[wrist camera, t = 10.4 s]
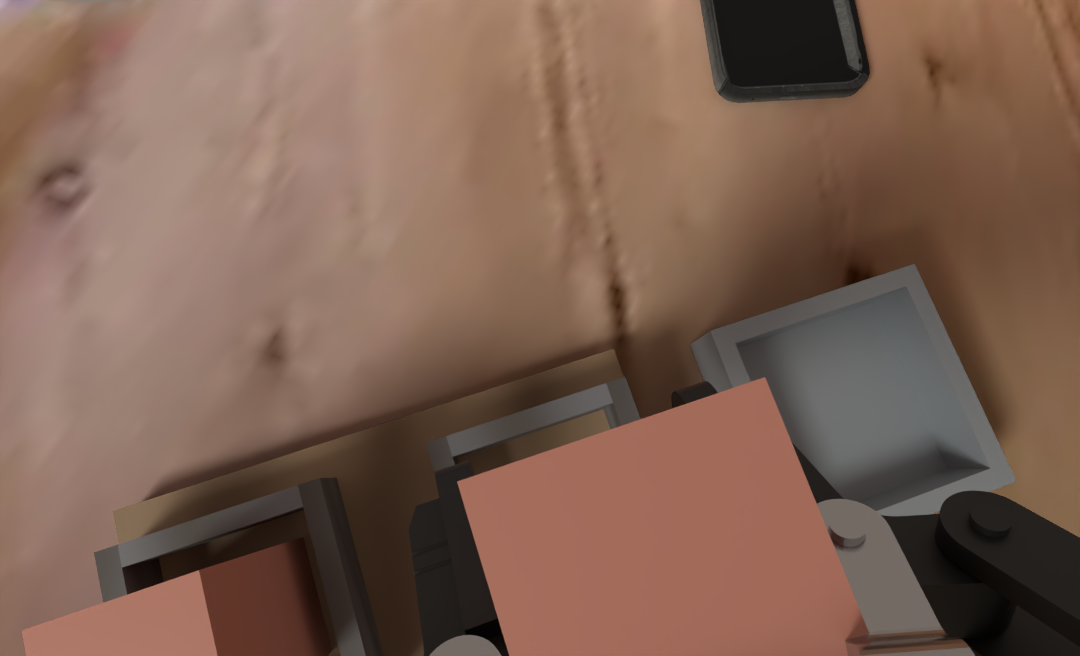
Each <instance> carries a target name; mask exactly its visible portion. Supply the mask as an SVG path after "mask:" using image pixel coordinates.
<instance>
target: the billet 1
mask: <svg viewBox="0 0 1080 656" xmlns="http://www.w3.org/2000/svg"><path fill="white" fill-rule="evenodd" d="M22 634H23V640H24V646H25V652H26V656H328V655H329V654H330V653H331V652H332V649H331V645H330V641H329V637H328V633H327V629H326V625H325V621H324V617H323V613H322V609H321V605H320V601H319V597H318V593H317V589H316V585H315V581H314V577H313V573H312V569H311V565H310V561H309V557H308V553H307V549H306V545H305V541H304V537H301V538H298V539H295V540H292V541H289V542H286V543H283V544H279V545H276V546H273V547H270V548H267V549H264V550H261V551H258V552H254V553H251V554H248V555H245V556H242V557H239V558H236V559H233V560H229V561H226V562H223V563H220V564H217V565H214V566H211V567H207V568H204V569H201V570H198V571H195V572H192V573H189V574H186V575H183V576H181V577H178V578H175V579H172V580H169V581H166V582H163V583H160V584H157V585H154V586H151V587H148V588H145V589H142V590H139V591H137V592H134V593H131V594H128V595H125V596H122V597H119V598H116V599H113V600H110V601H107V602H104V603H101V604H98V605H95V606H92V607H90V608H87V609H84V610H81V611H78V612H75V613H72V614H69V615H66V616H63V617H60V618H57V619H54V620H51V621H48V622H46V623H43V624H40V625H37V626H34V627H31V628H28V629H25V630H22Z"/></svg>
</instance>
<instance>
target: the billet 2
mask: <svg viewBox="0 0 1080 656" xmlns="http://www.w3.org/2000/svg"><path fill="white" fill-rule="evenodd" d="M457 483H458V487H459V490H460V493H461V497H462V500H463V503H464V507H465V510H466V513H467V517H468V520H469V523H470V527H471V530H472V533H473V537H474V540H475V543H476V547H477V550H478V553H479V557H480V560H481V563H482V566H483V570H484V573H485V576H486V580H487V583H488V586H489V590H490V593H491V596H492V600H493V603H494V606H495V610H496V613H497V616H498V620H499V623H500V626H501V630H502V633H503V636H504V640H505V643H506V646H507V650H508V653H509V656H848V653H847V648H846V643H845V640H847V639H851V638H856V637H860V636H864V635H867V634H869V631H868V629H867V626H866V624H865V621H864V619H863V616H862V614H861V612H860V609H859V607H858V604H857V602H856V599H855V597H854V594H853V592H852V589H851V587H850V584H849V582H848V580H847V577H846V575H845V572H844V570H843V567H842V565H841V562H840V560H839V557H838V555H837V553H836V550H835V548H834V545H833V543H832V540H831V538H830V535H829V533H828V530H827V528H826V526H825V523H824V521H823V518H822V516H821V513H820V511H819V508H818V506H817V503H816V501H815V498H814V496H813V494H812V491H811V489H810V486H809V484H808V481H807V479H806V476H805V474H804V471H803V469H802V467H801V464H800V462H799V459H798V457H797V454H796V452H795V449H794V447H793V444H792V442H791V439H790V437H789V435H788V432H787V430H786V427H785V425H784V422H783V420H782V417H781V415H780V412H779V410H778V408H777V405H776V403H775V400H774V398H773V395H772V393H771V390H770V388H769V385H768V383H767V381H766V378H765V377H764V378H761V379H758V380H755V381H752V382H749V383H746V384H743V385H740V386H737V387H734V388H731V389H728V390H725V391H722V392H720V393H717V394H714V395H711V396H708V397H705V398H702V399H699V400H696V401H693V402H690V403H687V404H684V405H681V406H678V407H675V408H672V409H669V410H667V411H664V412H661V413H658V414H655V415H652V416H649V417H646V418H643V419H640V420H637V421H634V422H631V423H628V424H625V425H622V426H619V427H616V428H614V429H611V430H608V431H605V432H602V433H599V434H596V435H593V436H590V437H587V438H584V439H581V440H578V441H575V442H572V443H569V444H566V445H563V446H561V447H558V448H555V449H552V450H549V451H546V452H543V453H540V454H537V455H534V456H531V457H528V458H525V459H522V460H519V461H516V462H513V463H510V464H507V465H505V466H502V467H499V468H496V469H493V470H490V471H487V472H484V473H481V474H478V475H475V476H472V477H469V478H466V479H463V480H460V481H457Z"/></svg>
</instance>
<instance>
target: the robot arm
mask: <svg viewBox="0 0 1080 656" xmlns="http://www.w3.org/2000/svg"><path fill="white" fill-rule="evenodd" d="M717 393H718V392H717V390H716V389H715V388H714V387H713V386H712V385H711V384H710V383H709V382H707V381H704V382H701V383H698V384H695V385H692V386H689V387H686V388H683V389H680V390H677V391H674V392H673V393H672V408H675V407H678V406H681V405H684V404H687V403H690V402H693V401H696V400H699V399H702V398H705V397H708V396H711V395H714V394H717ZM792 444H793V443H792ZM793 447H794V449H795V452H796V454H797V457H798V459H799V462H800V464H801V467H802V469H803V471H804V474H805V476H806V479H807V481H808V484H809V486H810V489H811V491H812V494H813V496H814V498H815V501H816V503H817V506H818V508H819V511H820V513H821V516H822V518H823V521H824V523H825V526H826V528H827V530H828V533H829V535H830V538H831V540H832V543H833V545H834V548H835V550H836V553H837V555H838V557H839V560H840V562H841V565H842V567H843V570H844V572H845V575H846V577H847V580H848V582H849V584H850V587H851V589H852V592H853V594H854V597H855V599H856V602H857V604H858V607H859V609H860V612H861V614H862V616H863V619H864V621H865V624H866V626H867V629H868V631H869V634H867V635H864V636H860V637H856V638H851V639H847V640H845V643H846V648H847V653H848V656H1080V538H1079V537H1077V536H1075V535H1074V534H1072V533H1070V532H1068V531H1066V530H1064V529H1063V528H1061V527H1059V526H1057V525H1055V524H1054V523H1052V522H1050V521H1048V520H1046V519H1045V518H1043V517H1041V516H1039V515H1037V514H1036V513H1034V512H1032V511H1030V510H1028V509H1026V508H1025V507H1023V506H1021V505H1019V504H1017V503H1016V502H1014V501H1012V500H1010V499H1008V498H1006V497H1003V496H1000V495H998V494H994V493H990V492H985V491H973V490H972V491H963V492H958V493H956V494H953V495H951V496H950V497H948V498H947V499H946V500H945V501H944V502H943V504H942V506H941V509H940V513H939V514H930V515H912V516H884V515H880V514H879V513H878V512H876V511H875V510H873V509H872V508H870V507H869V506H866V505H864V504H862V503H859V502H856V501H852V500H848V499H844V498H843V497H842V496H841V495H840V494H839V493H838V492H837V491H836V490H835V489H834V488H833V487H832V486H831V485H830V483H829V482H828V481H827V480H826V479H825V478H824V477H823V476H822V475H821V474H820V472H819V471H818V470H817V469H816V468H815V467H814V466H813V465H812V464H811V463H810V461H809V460H808V459H807V458H806V457H805V456H804V455H803V454H802V453H801V451H800V450H799V449H798V448H797V447H796V446H795V445H794V444H793ZM472 476H475V474H474V471H473V468H472V465H471V463H470V460H468V461H465V462H462V463H459V464H456V465H453V466H450V467H447V468H444V469H441V470H438V471H435V479H436V484H437V489H438V494H439V498H438V499H435V500H432V501H429V502H426V503H423V504H420V505H417V506H416V508H415V511H414V515H413V518H412V521H411V524H410V527H409V537H410V544H411V552H412V556H413V557H412V560H413V568H414V573H415V583H416V591H417V599H418V607H419V614H420V622H421V630H422V638H423V645H424V656H509V653H508V650H507V646H506V643H505V640H504V636H503V633H502V630H501V626H500V623H499V620H498V616H497V613H496V610H495V606H494V603H493V600H492V596H491V593H490V590H489V586H488V583H487V580H486V576H485V573H484V570H483V566H482V563H481V560H480V557H479V553H478V550H477V547H476V543H475V540H474V537H473V533H472V530H471V527H470V523H469V520H468V517H467V513H466V510H465V507H464V503H463V500H462V497H461V493H460V490H459V487H458V483H457V481H460V480H463V479H466V478H469V477H472Z"/></svg>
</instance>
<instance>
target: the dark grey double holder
mask: <svg viewBox="0 0 1080 656" xmlns="http://www.w3.org/2000/svg"><path fill="white" fill-rule="evenodd" d="M640 419H641V418H640V416H639V413H638V410H637V407H636V404H635V402H634V399H633V396H632V393H631V391H630V388H629V385H628V382H627V380H626V377H624V376H623V373H622V370H621V367H620V365H619V362H618V359H617V356H616V354H615V351H614V349H611V350H608V351H605V352H602V353H598V354H595V355H592V356H589V357H586V358H583V359H580V360H577V361H574V362H571V363H568V364H565V365H562V366H558V367H555V368H552V369H549V370H546V371H543V372H540V373H537V374H534V375H531V376H528V377H525V378H522V379H518V380H515V381H512V382H509V383H506V384H503V385H500V386H497V387H494V388H491V389H488V390H485V391H481V392H478V393H475V394H472V395H469V396H466V397H463V398H460V399H457V400H454V401H451V402H448V403H445V404H441V405H438V406H435V407H432V408H429V409H426V410H423V411H420V412H417V413H414V414H411V415H408V416H405V417H401V418H398V419H395V420H392V421H389V422H386V423H383V424H380V425H377V426H374V427H371V428H368V429H364V430H361V431H358V432H355V433H352V434H349V435H346V436H343V437H340V438H337V439H334V440H331V441H328V442H324V443H321V444H318V445H315V446H312V447H309V448H306V449H303V450H300V451H297V452H294V453H291V454H288V455H284V456H281V457H278V458H275V459H272V460H269V461H266V462H263V463H260V464H257V465H254V466H251V467H248V468H244V469H241V470H238V471H235V472H232V473H229V474H226V475H223V476H220V477H217V478H214V479H211V480H207V481H204V482H201V483H198V484H195V485H192V486H189V487H186V488H183V489H180V490H177V491H174V492H171V493H167V494H164V495H161V496H158V497H155V498H152V499H149V500H146V501H143V502H140V503H137V504H134V505H131V506H127V507H124V508H121V509H118V510H115V511H113V514H114V519H115V524H116V529H117V534H118V539H119V545H116V546H113V547H110V548H106V549H103V550H100V551H97V552H94V555H95V560H96V565H97V571H98V576H99V581H100V587H101V592H102V597H103V603H104V602H107V601H110V600H113V599H116V598H119V597H122V596H125V595H128V594H131V593H134V592H137V591H139V590H142V589H145V588H148V587H151V586H154V585H157V584H160V583H163V582H166V581H169V580H172V579H175V578H178V577H181V576H183V575H186V574H189V573H192V572H195V571H198V570H201V569H204V568H207V567H211V566H214V565H217V564H220V563H223V562H226V561H229V560H233V559H236V558H239V557H242V556H245V555H248V554H251V553H254V552H258V551H261V550H264V549H267V548H270V547H273V546H276V545H279V544H283V543H286V542H289V541H292V540H295V539H298V538H301V537H304V541H305V545H306V549H307V553H308V557H309V561H310V565H311V569H312V573H313V577H314V581H315V585H316V589H317V593H318V597H319V601H320V605H321V609H322V613H323V617H324V621H325V625H326V629H327V633H328V637H329V641H330V645H331V649H332V652H331V653H330V654H329V655H328V656H424V645H423V638H422V630H421V622H420V614H419V607H418V599H417V591H416V583H415V573H414V568H413V560H412V557H413V556H412V552H411V544H410V537H409V527H410V524H411V521H412V518H413V515H414V511H415V508H416V506H417V505H420V504H423V503H426V502H429V501H432V500H435V499H438V498H439V494H438V489H437V484H436V479H435V471H438V470H441V469H444V468H447V467H450V466H453V465H456V464H459V463H462V462H465V461H468V460H470V463H471V465H472V468H473V471H474V474H475V475H478V474H481V473H484V472H487V471H490V470H493V469H496V468H499V467H502V466H505V465H507V464H510V463H513V462H516V461H519V460H522V459H525V458H528V457H531V456H534V455H537V454H540V453H543V452H546V451H549V450H552V449H555V448H558V447H561V446H563V445H566V444H569V443H572V442H575V441H578V440H581V439H584V438H587V437H590V436H593V435H596V434H599V433H602V432H605V431H608V430H611V429H614V428H616V427H619V426H622V425H625V424H628V423H631V422H634V421H637V420H640Z"/></svg>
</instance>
